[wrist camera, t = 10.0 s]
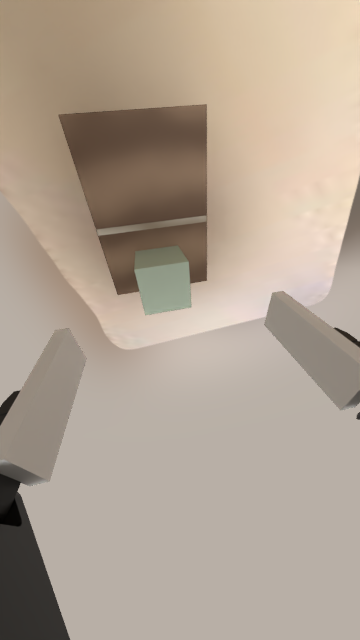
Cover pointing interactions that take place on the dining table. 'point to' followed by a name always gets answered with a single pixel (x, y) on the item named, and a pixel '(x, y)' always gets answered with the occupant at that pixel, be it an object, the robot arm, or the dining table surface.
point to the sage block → (163, 279)
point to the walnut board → (144, 183)
